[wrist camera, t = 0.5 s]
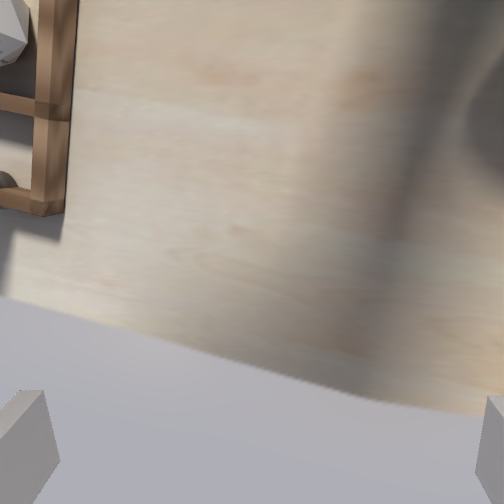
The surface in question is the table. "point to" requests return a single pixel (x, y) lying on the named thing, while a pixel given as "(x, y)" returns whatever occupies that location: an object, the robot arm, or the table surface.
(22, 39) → the die
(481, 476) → the robot arm
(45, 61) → the frame
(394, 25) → the table surface
